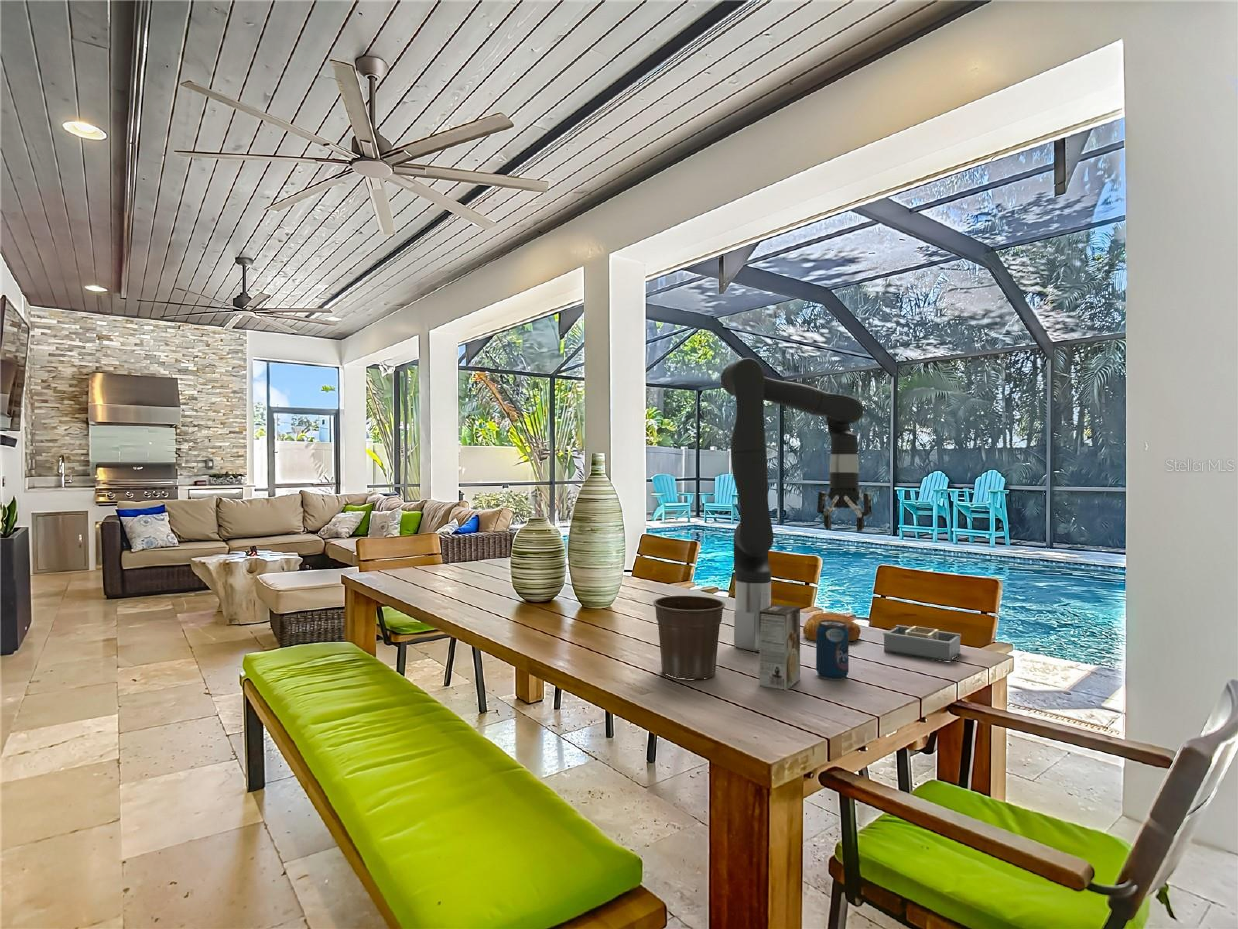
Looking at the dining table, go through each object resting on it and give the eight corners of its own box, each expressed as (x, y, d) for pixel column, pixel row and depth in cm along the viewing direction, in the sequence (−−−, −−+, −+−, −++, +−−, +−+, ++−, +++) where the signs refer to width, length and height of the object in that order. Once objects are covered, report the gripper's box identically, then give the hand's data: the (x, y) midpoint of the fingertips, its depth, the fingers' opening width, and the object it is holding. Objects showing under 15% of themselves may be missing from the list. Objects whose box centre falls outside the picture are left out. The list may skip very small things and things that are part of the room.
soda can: (845, 683, 147) (845, 627, 147) (812, 678, 150) (813, 624, 150) (851, 674, 153) (851, 621, 153) (819, 670, 156) (820, 618, 156)
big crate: (950, 663, 163) (950, 642, 163) (883, 651, 173) (883, 632, 173) (961, 653, 172) (961, 634, 172) (896, 643, 182) (896, 625, 182)
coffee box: (772, 675, 152) (773, 603, 152) (800, 679, 149) (801, 606, 149) (758, 685, 144) (758, 610, 144) (787, 691, 141) (787, 614, 141)
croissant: (864, 652, 181) (869, 623, 180) (806, 643, 181) (811, 614, 181) (848, 638, 195) (852, 610, 195) (794, 629, 195) (798, 602, 195)
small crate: (930, 655, 167) (930, 635, 168) (904, 651, 171) (904, 631, 171) (938, 649, 174) (938, 629, 174) (913, 645, 177) (913, 626, 177)
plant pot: (716, 688, 142) (716, 611, 143) (643, 679, 148) (644, 605, 148) (730, 667, 158) (731, 598, 158) (664, 660, 163) (664, 593, 163)
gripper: (813, 471, 186) (813, 529, 186) (865, 471, 177) (865, 532, 177) (824, 471, 192) (823, 528, 192) (875, 471, 183) (874, 531, 183)
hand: (843, 530), depth 185 cm, fingers open, 8 cm apart
